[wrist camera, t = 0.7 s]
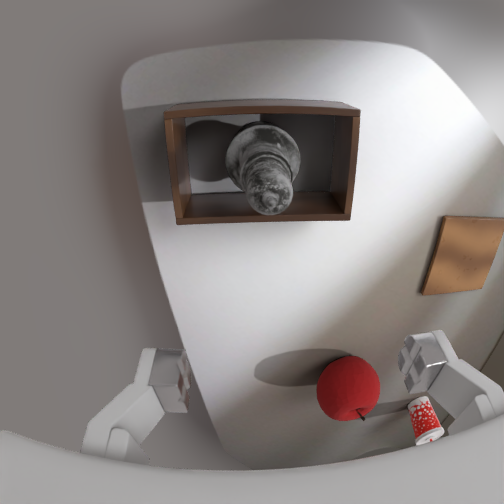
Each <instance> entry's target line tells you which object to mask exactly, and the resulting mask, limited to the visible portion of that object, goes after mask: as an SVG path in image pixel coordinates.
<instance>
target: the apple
mask: <svg viewBox="0 0 504 504" xmlns="http://www.w3.org/2000/svg"><path fill="white" fill-rule="evenodd" d="M379 394H380V382H379V378H378V375H377V373H376V372H375V370H374V369H373V368H372V366H371V365H370V364H369V363H367V362H366V361H365V360H363V359H361V358H359V357H357V356H346V357H343V358H340V359H338V360H336V361H334V362H331V363H330V364H329V365H328V366H327V367H326V368H325V369H324V371H323V372H322V374H321V375H320V377H319V380H318V383H317V399H318V402H319V405H320V407H321V409H322V410H323V411H324V413H325V414H327V415H328V416H329V417H330V418H332V419H335V420H339V421H348V420H353V419H357V418H360V417H361V419H362V420H363V421H364V420H365V418H364V417H363V416H364V415H366V414H367V413H368V412H370V411H371V410H372V409H373V408H374V406H375V405H376V403H377V401H378V398H379Z"/></svg>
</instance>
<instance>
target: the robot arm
mask: <svg viewBox="0 0 504 504" xmlns="http://www.w3.org/2000/svg"><path fill="white" fill-rule="evenodd" d="M404 343H405V346H404V347H403V348H402V349H401V350H400V352H399V355H398V365H399V369H400V371H401V373H403V374H404V375H405V376H406V377H405V380H404V382H405V384H406V387H407V390H408V392H409V394H414V393H419V392H424V391H427V392H428V393H429V394H430V395H431V396H432V397H433V398H434V399H435V400H436V401H437V402H438V403H439V404H440V405H441V406H442V407H443V408H444V409H445V410H446V411H448V412H449V413H450V414H451V415H452V416H453V417H454V418H455V419H456V420H455V421H454V422H453V423H452V424H451V425H450V426H449V428H448V432H449V436H447V437H444V438H441V439H437V440H434V441H431V442H428V443H424V444H421V445H417V446H414V447H410V448H406V449H403V450H399V451H395V452H391V453H386V454H382V455H377V456H372V457H367V458H363V459H357V460H351V461H345V462H339V463H332V464H325V465H317V466H309V467H299V468H287V469H272V470H243V471H224V470H222V471H220V470H195V469H181V468H169V467H158V466H151V465H149V460H150V459H149V457H148V456H147V455H146V453H145V452H144V451H143V450H142V449H141V447H140V446H139V445H140V444H141V443H142V442H143V440H144V439H145V438H146V437H147V435H148V434H149V433H150V432H151V430H152V429H153V428H154V427H155V426H156V424H157V423H158V422H159V421H160V419H161V418H162V417H163V416H164V414H165V412H176V413H188V405H189V395H188V392H187V391H188V389H189V388H190V387H191V368H190V364H189V363H188V362H187V353H186V350H182V349H162V348H144V349H143V350H142V352H141V356H140V360H139V364H138V368H137V371H136V375H135V380H134V383H133V384H129V385H128V386H127V387H126V388H125V389H124V390H122V391H121V392H120V393H119V394H118V395H117V396H116V397H115V398H114V399H113V400H112V401H111V402H110V403H108V404H107V405H106V406H105V407H104V408H103V409H102V410H101V411H100V412H99V413H98V414H97V415H96V416H94V417H93V418H92V419H91V420H90V421H89V422H88V425H87V428H86V432H85V435H84V439H83V443H82V447H81V450H80V453H79V452H75V451H70V450H67V449H63V448H59V447H56V446H52V445H49V444H45V443H42V442H39V441H36V440H33V439H29V438H27V437H24V436H21V435H18V434H16V433H13V432H10V431H7V430H1V431H0V504H504V393H503V390H502V388H501V387H500V386H499V385H498V384H496V383H495V382H493V381H492V380H491V379H489V378H488V377H486V376H485V375H483V374H482V373H481V372H479V371H478V370H476V369H475V368H473V367H472V366H471V365H469V364H468V363H466V362H465V361H463V360H462V359H460V360H459V359H458V358H457V356H456V354H455V352H454V350H453V348H452V346H451V344H450V343H449V341H448V339H447V337H446V335H445V334H444V332H443V331H442V330H437V331H431V332H423V333H417V334H411V335H408V336H407V337H406V339H405V341H404Z"/></svg>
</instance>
